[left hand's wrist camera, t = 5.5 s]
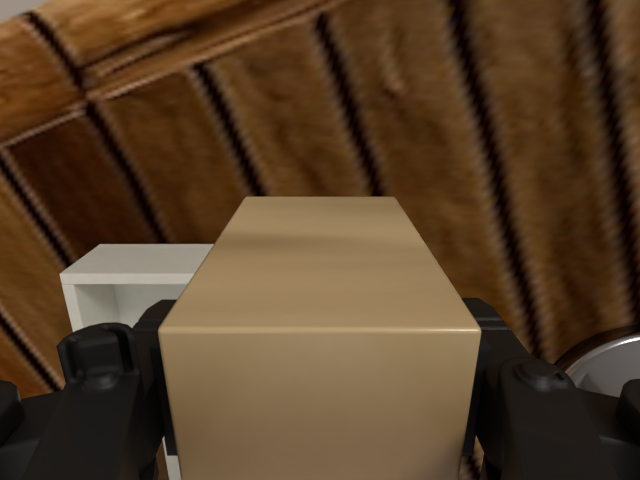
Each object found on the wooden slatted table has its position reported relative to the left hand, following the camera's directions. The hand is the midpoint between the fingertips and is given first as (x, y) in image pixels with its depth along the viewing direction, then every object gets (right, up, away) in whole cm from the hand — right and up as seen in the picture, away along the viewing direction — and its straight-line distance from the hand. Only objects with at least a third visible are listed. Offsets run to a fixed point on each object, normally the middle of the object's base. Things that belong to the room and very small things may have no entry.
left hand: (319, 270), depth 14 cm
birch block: (0, 0, 0) cm, 0 cm away
